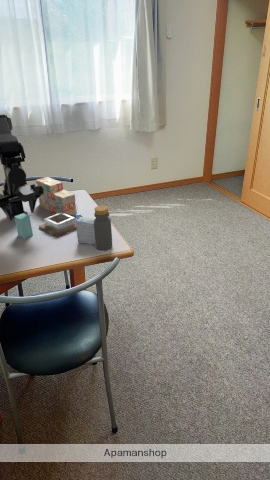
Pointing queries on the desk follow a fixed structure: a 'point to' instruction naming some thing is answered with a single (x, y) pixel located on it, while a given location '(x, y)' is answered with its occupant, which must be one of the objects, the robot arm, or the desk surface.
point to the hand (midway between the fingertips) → (22, 216)
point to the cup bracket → (66, 222)
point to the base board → (57, 231)
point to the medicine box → (85, 230)
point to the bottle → (102, 228)
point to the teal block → (23, 225)
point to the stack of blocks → (56, 197)
